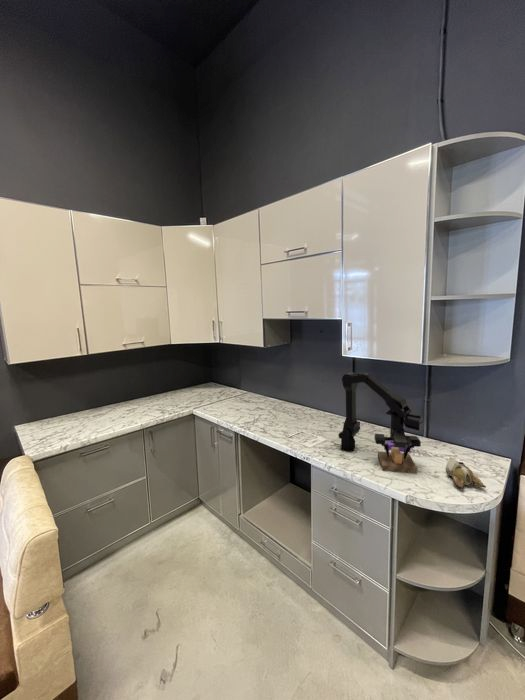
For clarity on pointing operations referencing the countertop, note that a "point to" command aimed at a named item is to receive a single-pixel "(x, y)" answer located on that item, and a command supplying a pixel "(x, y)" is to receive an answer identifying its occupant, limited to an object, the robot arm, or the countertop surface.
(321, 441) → the photo frame
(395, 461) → the tan wooden block
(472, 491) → the countertop surface
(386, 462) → the brown slotted square board
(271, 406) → the countertop surface
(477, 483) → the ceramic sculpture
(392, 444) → the bracket
